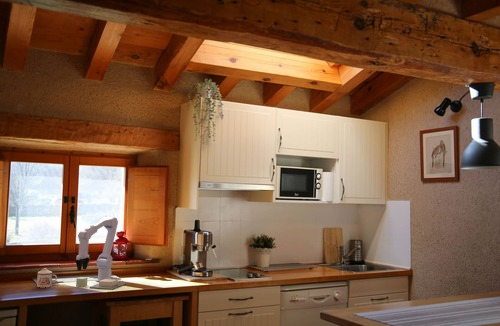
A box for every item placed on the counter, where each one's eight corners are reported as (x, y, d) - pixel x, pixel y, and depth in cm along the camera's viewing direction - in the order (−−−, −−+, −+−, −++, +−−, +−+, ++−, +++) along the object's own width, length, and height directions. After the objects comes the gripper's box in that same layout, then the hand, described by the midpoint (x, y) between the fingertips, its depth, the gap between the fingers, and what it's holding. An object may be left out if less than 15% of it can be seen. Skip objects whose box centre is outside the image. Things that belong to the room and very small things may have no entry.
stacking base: (104, 282, 337) (104, 277, 338) (126, 284, 334) (126, 278, 334) (89, 288, 318) (89, 282, 318) (112, 289, 315) (112, 283, 315)
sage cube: (80, 284, 328) (80, 277, 329) (87, 285, 327) (87, 277, 328) (76, 286, 324) (76, 278, 324) (83, 286, 323) (83, 278, 323)
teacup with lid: (36, 288, 313) (37, 269, 314) (36, 285, 322) (37, 267, 322) (56, 287, 317) (57, 269, 318) (56, 284, 326) (57, 266, 327)
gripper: (82, 247, 334) (81, 268, 333) (72, 249, 320) (70, 270, 319) (92, 248, 333) (91, 269, 332) (82, 250, 319) (81, 271, 318)
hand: (81, 269), depth 325 cm, fingers open, 7 cm apart
